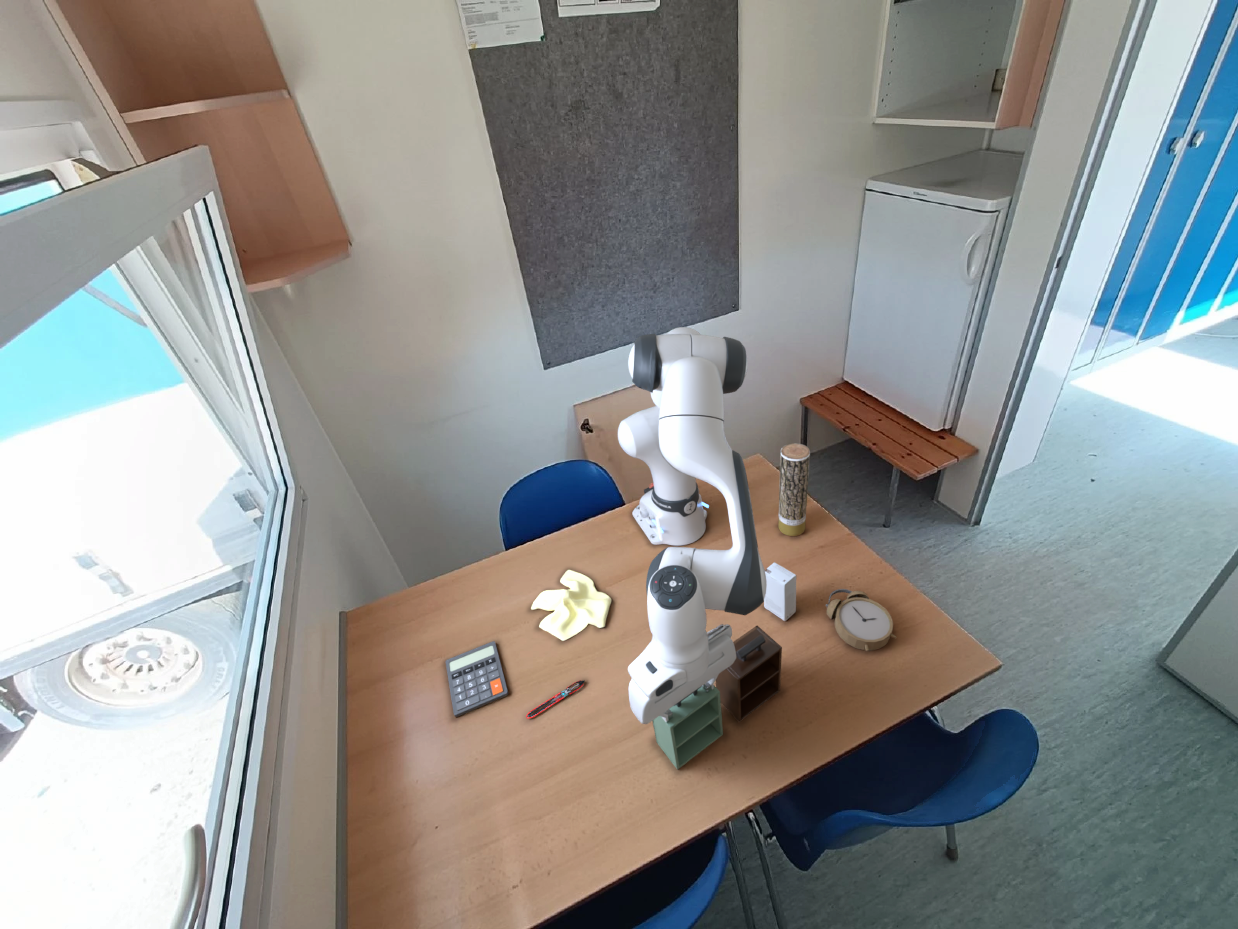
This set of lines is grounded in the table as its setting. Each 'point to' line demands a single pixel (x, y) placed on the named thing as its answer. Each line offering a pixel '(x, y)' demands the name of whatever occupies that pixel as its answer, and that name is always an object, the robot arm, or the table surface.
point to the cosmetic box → (780, 591)
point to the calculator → (475, 678)
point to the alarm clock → (860, 620)
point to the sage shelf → (690, 726)
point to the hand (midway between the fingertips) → (687, 702)
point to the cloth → (573, 606)
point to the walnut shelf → (751, 674)
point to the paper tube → (793, 488)
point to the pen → (555, 699)
